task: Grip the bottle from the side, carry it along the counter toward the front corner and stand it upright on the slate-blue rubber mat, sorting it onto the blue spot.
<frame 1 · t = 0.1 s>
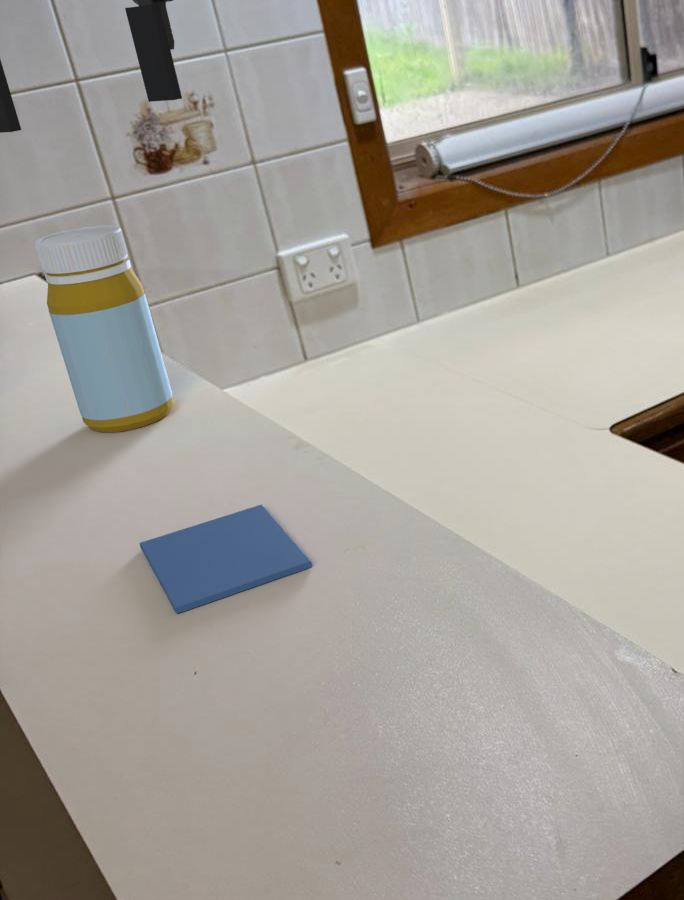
hand: (89, 115, 78), 24 cm above the worktop, tool pointing down, fingers open, 13 cm apart
bottle: (131, 420, 92), on the worktop
blue mat: (223, 557, 67), on the worktop
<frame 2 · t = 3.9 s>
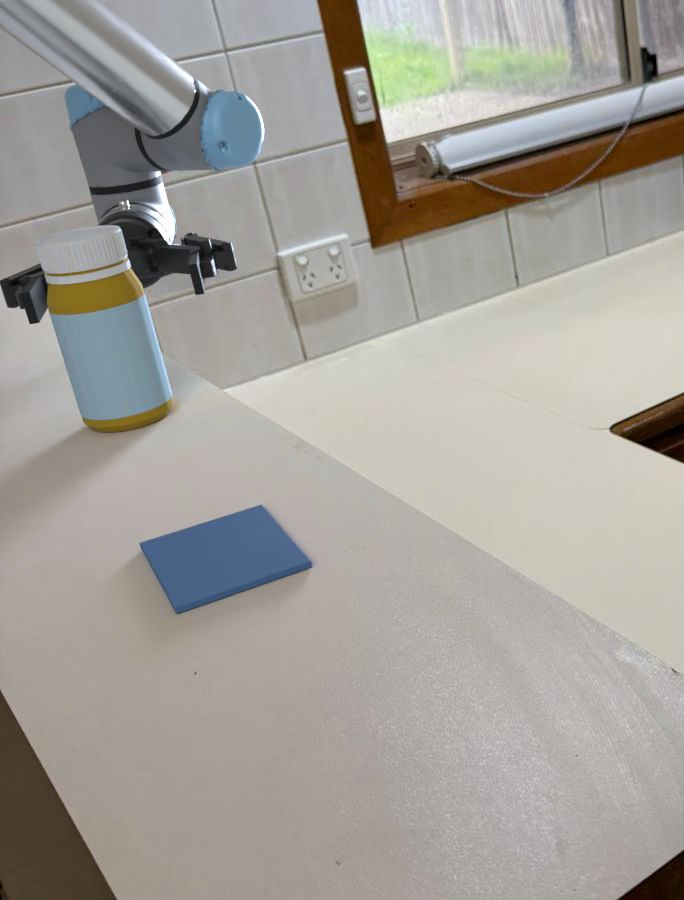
hand: (114, 293, 97), 8 cm above the worktop, tool horizontal, fingers open, 13 cm apart
nothing on the worktop moved.
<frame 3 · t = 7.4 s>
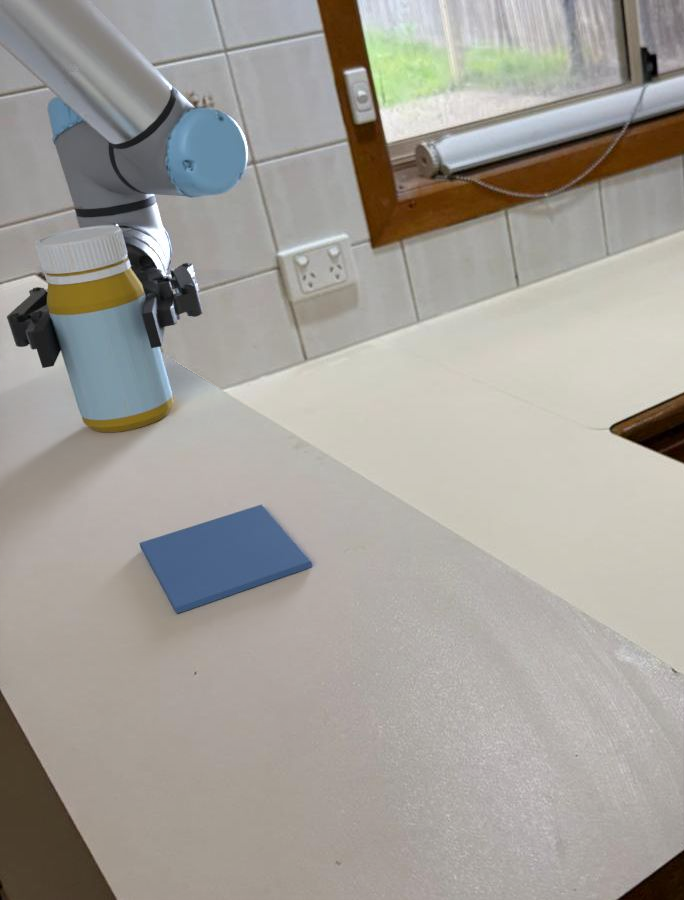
hand: (97, 339, 84), 8 cm above the worktop, tool horizontal, fingers closed on bottle, 7 cm apart
bottle: (131, 420, 92), on the worktop, touching gripper
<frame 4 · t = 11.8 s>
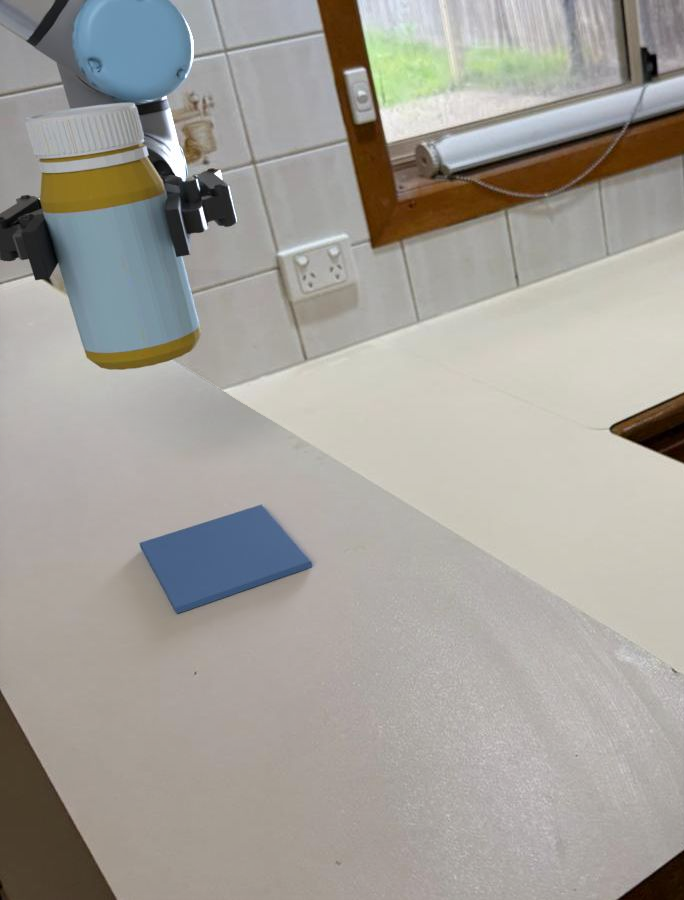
hand: (107, 244, 65), 18 cm above the worktop, tool horizontal, fingers closed on bottle, 7 cm apart
bottle: (148, 356, 73), point 10 cm above the worktop, touching gripper
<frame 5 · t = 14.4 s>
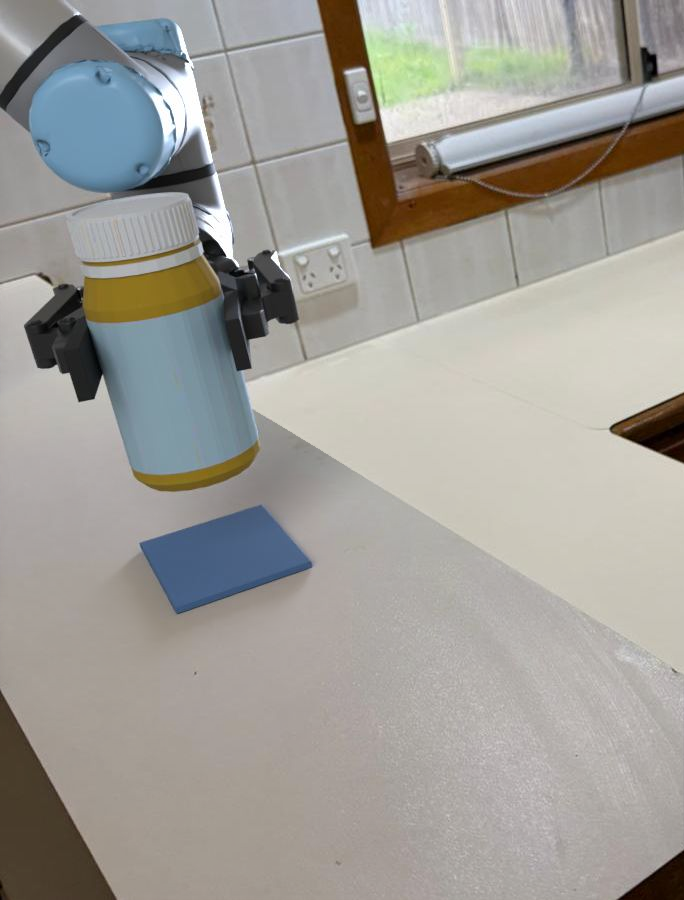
hand: (159, 359, 57), 14 cm above the worktop, tool horizontal, fingers closed on bottle, 7 cm apart
bottle: (201, 471, 65), point 6 cm above the worktop, touching gripper
when the fingers open (8 cm above the worktop, at t = 16.3 s): bottle stays where it is, resting on blue mat.
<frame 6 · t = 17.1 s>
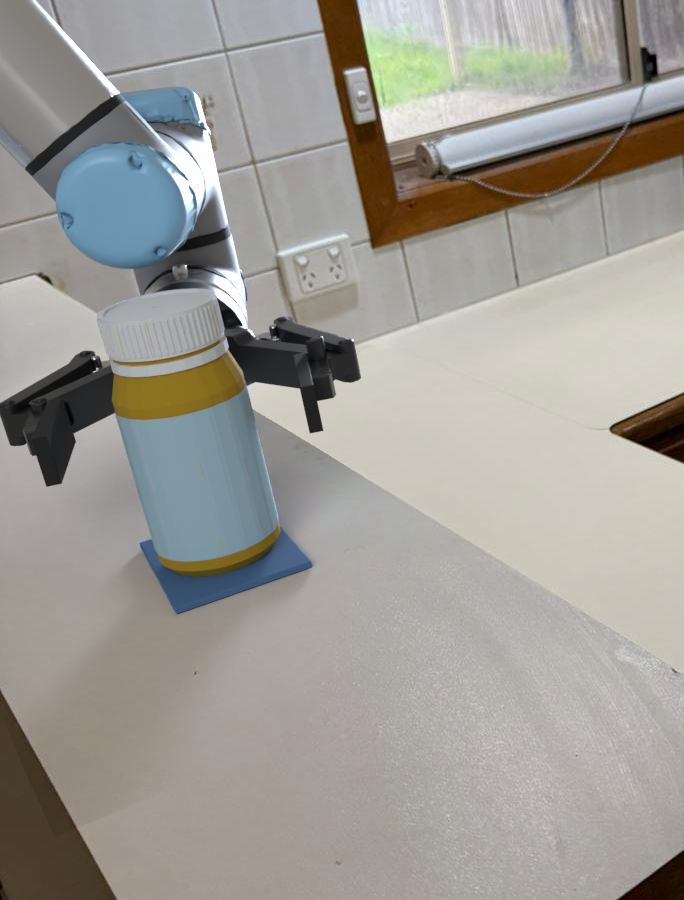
hand: (182, 435, 60), 9 cm above the worktop, tool horizontal, fingers open, 13 cm apart
bottle: (223, 554, 67), resting on blue mat
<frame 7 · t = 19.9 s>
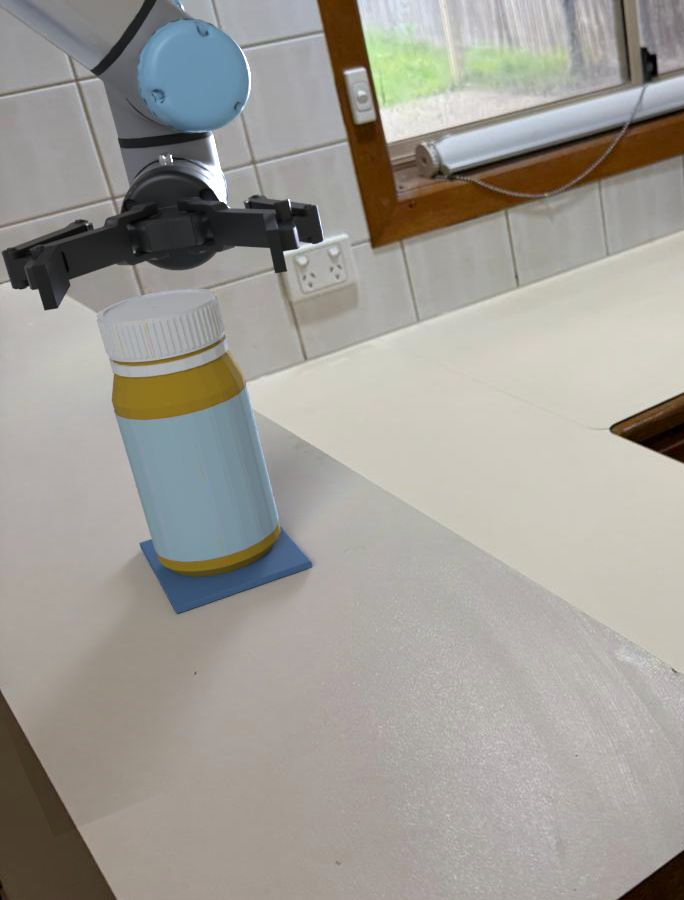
hand: (163, 269, 70), 15 cm above the worktop, tool horizontal, fingers open, 13 cm apart
nothing on the worktop moved.
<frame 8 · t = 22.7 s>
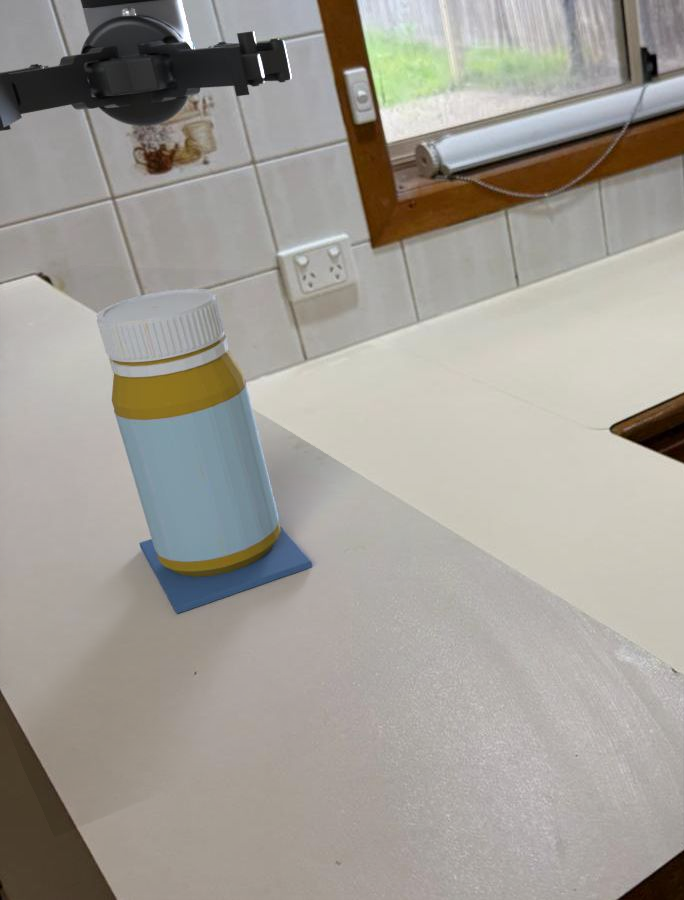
hand: (116, 87, 65), 26 cm above the worktop, tool horizontal, fingers open, 13 cm apart
nothing on the worktop moved.
at the end: bottle 0.0 cm off-centre on the blue mat, point 0.2 cm above the blue mat's base; bottle tilted 0°; the gripper is holding nothing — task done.
